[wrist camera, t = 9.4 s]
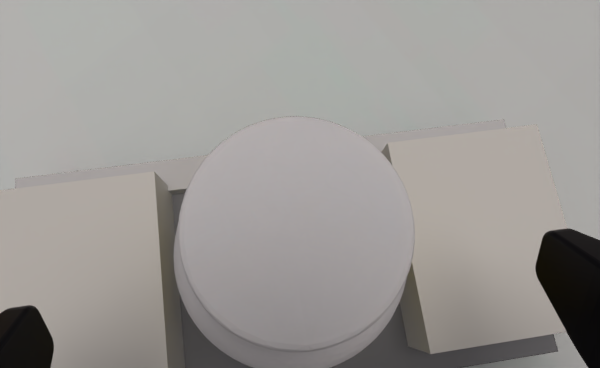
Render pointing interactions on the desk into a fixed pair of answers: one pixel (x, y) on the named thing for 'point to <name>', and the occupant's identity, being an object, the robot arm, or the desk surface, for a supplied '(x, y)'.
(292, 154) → the supplement bottle
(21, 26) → the desk surface
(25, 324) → the robot arm
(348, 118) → the desk surface
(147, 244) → the rail plate
